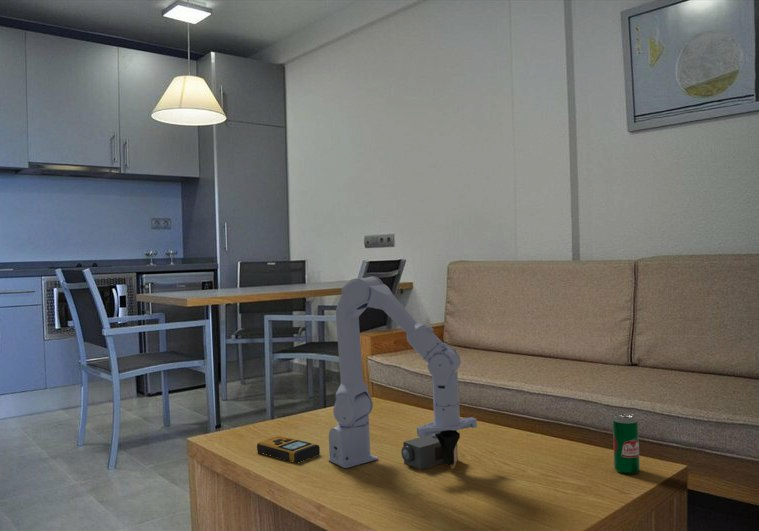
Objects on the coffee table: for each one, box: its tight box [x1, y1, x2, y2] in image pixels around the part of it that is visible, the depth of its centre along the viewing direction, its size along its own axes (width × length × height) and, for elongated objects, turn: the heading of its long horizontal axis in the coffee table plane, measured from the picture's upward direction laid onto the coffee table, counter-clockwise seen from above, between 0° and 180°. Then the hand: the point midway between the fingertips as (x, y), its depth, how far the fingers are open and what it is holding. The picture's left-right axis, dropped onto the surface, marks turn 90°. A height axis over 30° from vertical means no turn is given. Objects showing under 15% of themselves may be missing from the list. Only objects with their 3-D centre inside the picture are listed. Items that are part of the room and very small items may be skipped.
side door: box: [450, 443, 459, 470], centre depth 142 cm, size 7×1×4 cm, turn 167°
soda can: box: [612, 412, 641, 475], centre depth 133 cm, size 5×5×12 cm
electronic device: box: [256, 435, 321, 464], centre depth 155 cm, size 8×16×3 cm, turn 49°
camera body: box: [400, 434, 445, 471], centre depth 144 cm, size 11×6×6 cm, turn 126°
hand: (448, 463), depth 138 cm, fingers closed, pressing on side door
